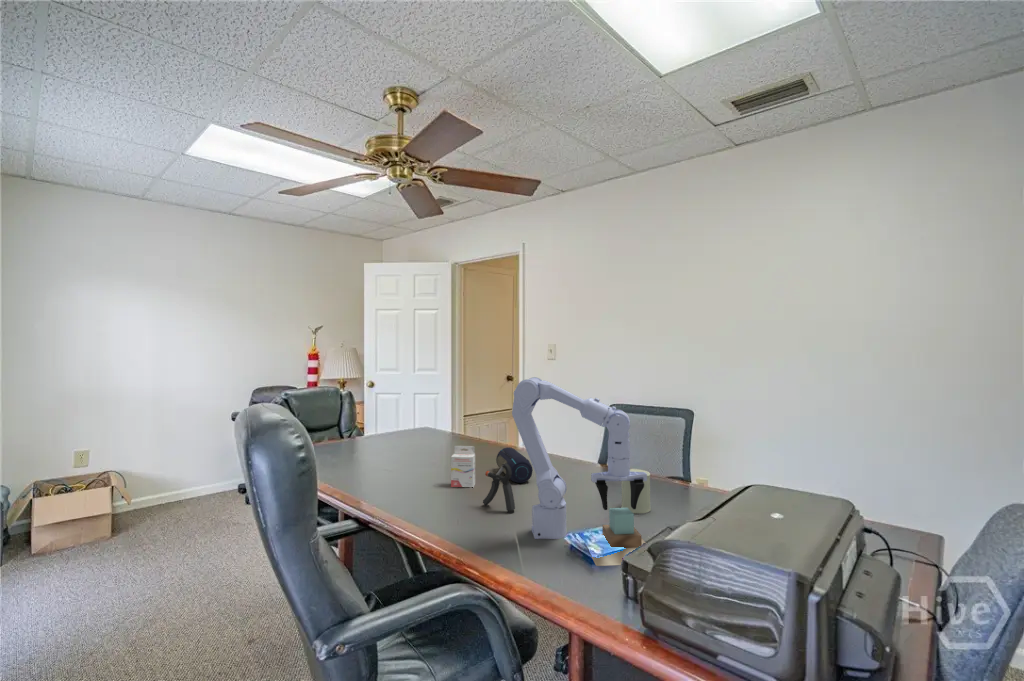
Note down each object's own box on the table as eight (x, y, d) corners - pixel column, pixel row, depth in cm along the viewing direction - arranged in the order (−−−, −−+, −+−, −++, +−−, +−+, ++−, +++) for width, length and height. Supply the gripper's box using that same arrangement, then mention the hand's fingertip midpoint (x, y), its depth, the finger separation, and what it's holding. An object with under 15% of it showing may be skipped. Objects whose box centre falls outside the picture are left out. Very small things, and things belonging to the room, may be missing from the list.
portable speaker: (494, 469, 203) (494, 446, 203) (516, 468, 206) (516, 444, 206) (509, 486, 179) (509, 459, 179) (535, 484, 182) (534, 458, 182)
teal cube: (615, 534, 123) (614, 514, 123) (609, 527, 128) (609, 508, 128) (634, 533, 124) (633, 514, 124) (627, 526, 129) (627, 507, 129)
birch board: (596, 570, 112) (596, 565, 112) (579, 539, 130) (579, 535, 130) (662, 567, 113) (662, 563, 113) (637, 536, 131) (637, 533, 131)
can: (615, 508, 154) (615, 471, 154) (631, 502, 160) (630, 466, 160) (641, 515, 147) (640, 476, 147) (656, 508, 154) (655, 471, 154)
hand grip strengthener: (486, 504, 159) (486, 458, 160) (515, 512, 151) (515, 464, 152) (481, 505, 158) (481, 460, 158) (511, 514, 150) (510, 466, 150)
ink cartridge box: (450, 488, 178) (450, 448, 178) (453, 484, 182) (453, 445, 183) (473, 488, 177) (473, 448, 177) (475, 484, 182) (475, 445, 182)
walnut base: (610, 548, 122) (610, 536, 122) (602, 536, 130) (602, 524, 130) (641, 547, 122) (641, 535, 122) (631, 534, 130) (631, 523, 130)
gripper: (595, 461, 123) (595, 514, 122) (651, 460, 123) (651, 512, 123) (589, 454, 130) (589, 505, 129) (641, 453, 131) (642, 503, 130)
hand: (619, 508), depth 127 cm, fingers open, 7 cm apart
